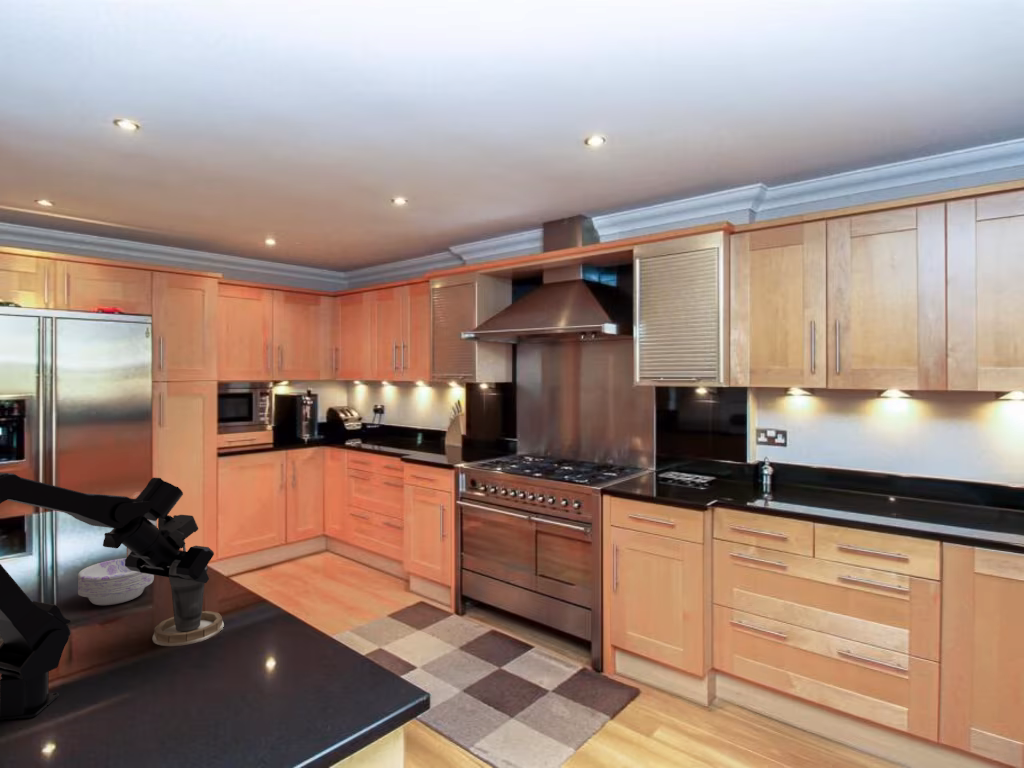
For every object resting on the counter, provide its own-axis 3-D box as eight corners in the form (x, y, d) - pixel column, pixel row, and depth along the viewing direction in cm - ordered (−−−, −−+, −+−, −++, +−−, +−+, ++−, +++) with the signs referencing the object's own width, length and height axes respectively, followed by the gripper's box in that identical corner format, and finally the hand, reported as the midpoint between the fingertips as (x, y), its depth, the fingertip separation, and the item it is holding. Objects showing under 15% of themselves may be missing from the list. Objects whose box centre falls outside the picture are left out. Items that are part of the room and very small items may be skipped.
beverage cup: (202, 631, 116) (203, 534, 117) (162, 636, 114) (163, 536, 115) (211, 618, 123) (211, 526, 124) (173, 621, 121) (174, 528, 122)
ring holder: (211, 643, 114) (211, 633, 114) (140, 648, 112) (140, 638, 112) (232, 617, 127) (232, 608, 127) (168, 621, 124) (168, 612, 124)
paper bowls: (75, 616, 128) (74, 581, 128) (80, 595, 141) (80, 563, 141) (154, 601, 136) (154, 568, 136) (153, 583, 149) (153, 553, 149)
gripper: (206, 507, 112) (249, 549, 122) (139, 501, 119) (185, 541, 129) (169, 558, 105) (218, 598, 115) (100, 549, 111) (152, 587, 121)
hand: (194, 579), depth 120 cm, fingers closed on beverage cup, 7 cm apart
